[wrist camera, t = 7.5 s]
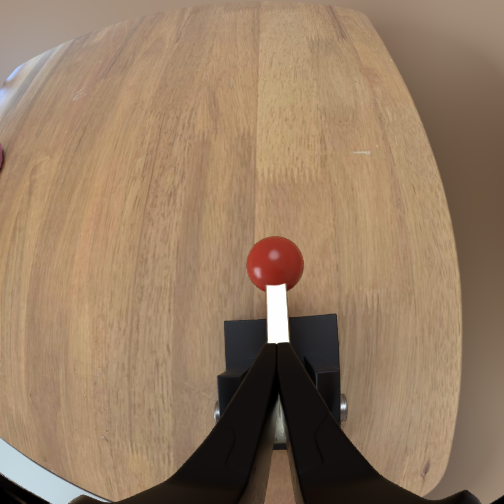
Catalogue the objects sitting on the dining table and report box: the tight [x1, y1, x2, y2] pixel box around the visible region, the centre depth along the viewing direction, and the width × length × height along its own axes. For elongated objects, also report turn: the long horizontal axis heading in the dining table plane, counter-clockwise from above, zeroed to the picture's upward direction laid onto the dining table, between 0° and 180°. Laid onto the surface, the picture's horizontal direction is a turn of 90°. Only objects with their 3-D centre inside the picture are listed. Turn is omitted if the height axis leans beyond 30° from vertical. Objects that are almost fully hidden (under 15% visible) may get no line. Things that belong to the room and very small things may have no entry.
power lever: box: [246, 236, 304, 443], centre depth 14 cm, size 11×3×3 cm, turn 3°
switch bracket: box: [214, 314, 347, 450], centre depth 15 cm, size 10×8×10 cm
